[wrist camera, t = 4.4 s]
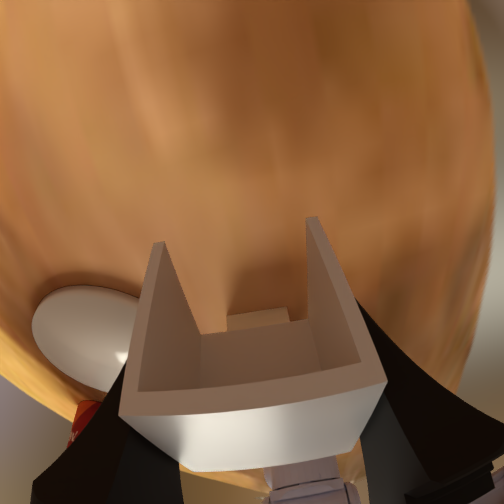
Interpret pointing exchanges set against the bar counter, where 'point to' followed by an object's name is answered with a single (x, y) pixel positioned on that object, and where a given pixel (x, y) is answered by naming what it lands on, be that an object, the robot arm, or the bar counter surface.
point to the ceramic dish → (86, 332)
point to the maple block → (257, 319)
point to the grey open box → (251, 374)
